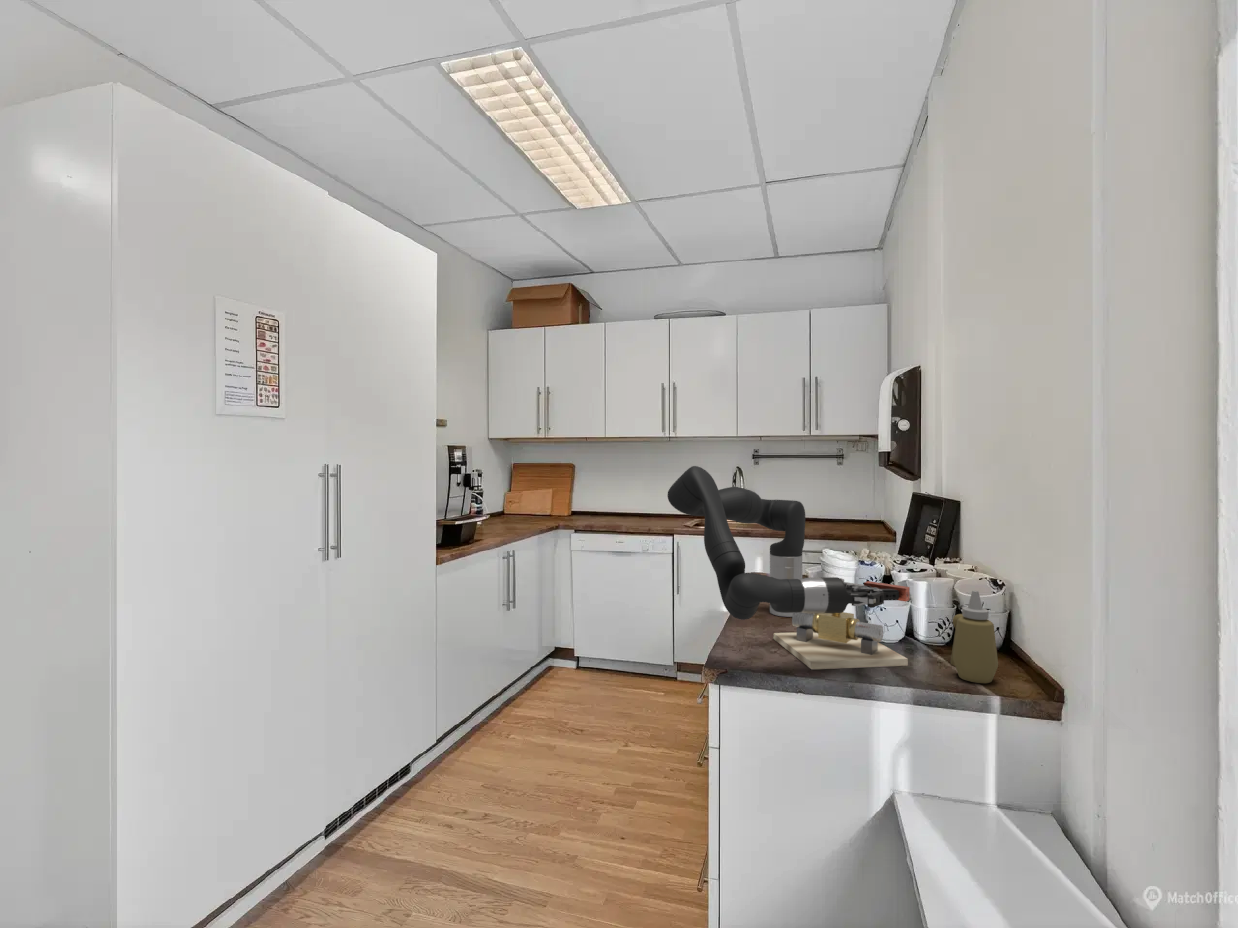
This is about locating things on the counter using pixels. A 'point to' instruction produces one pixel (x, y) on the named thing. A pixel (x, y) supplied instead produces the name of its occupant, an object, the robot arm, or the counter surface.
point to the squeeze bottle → (975, 643)
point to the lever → (902, 589)
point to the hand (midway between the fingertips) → (896, 594)
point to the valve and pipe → (838, 629)
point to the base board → (837, 653)
